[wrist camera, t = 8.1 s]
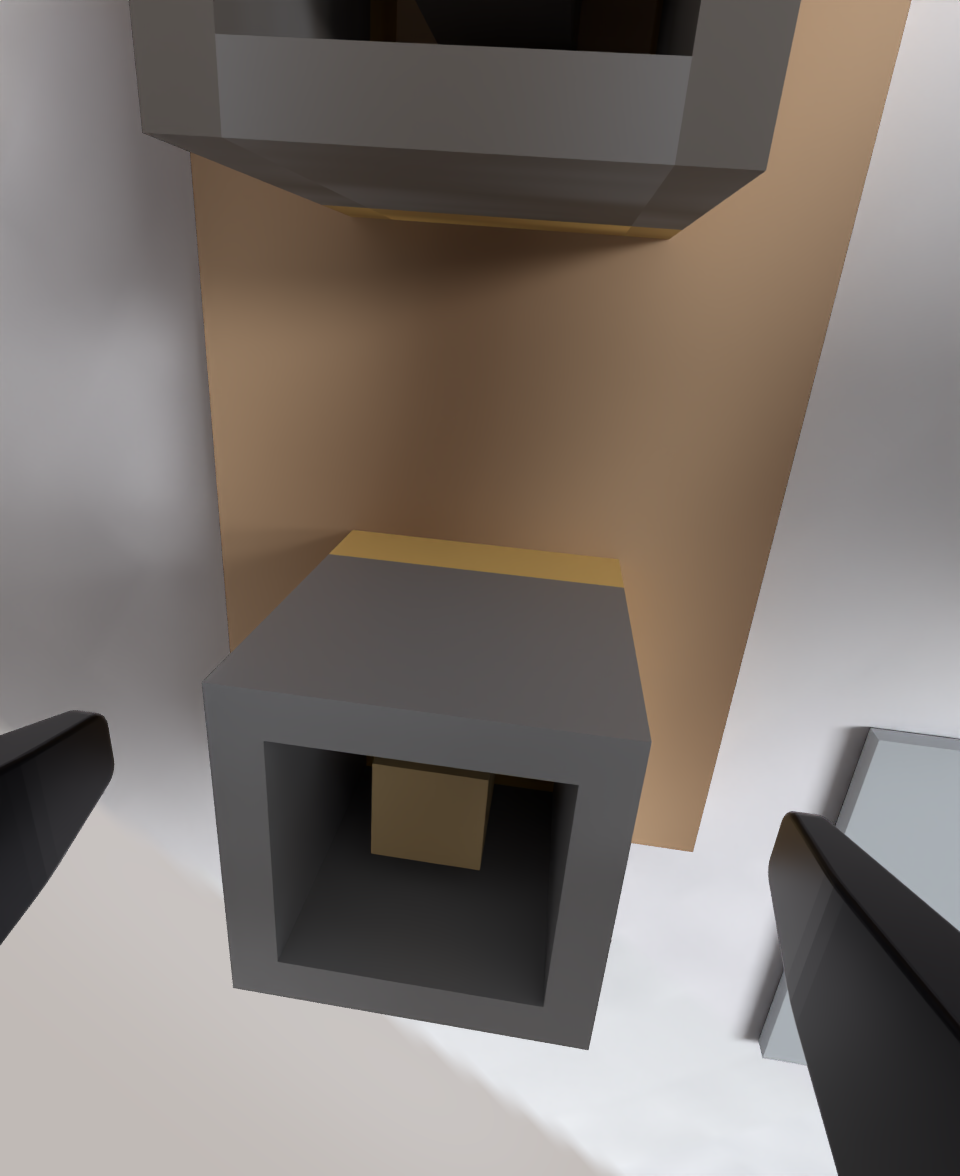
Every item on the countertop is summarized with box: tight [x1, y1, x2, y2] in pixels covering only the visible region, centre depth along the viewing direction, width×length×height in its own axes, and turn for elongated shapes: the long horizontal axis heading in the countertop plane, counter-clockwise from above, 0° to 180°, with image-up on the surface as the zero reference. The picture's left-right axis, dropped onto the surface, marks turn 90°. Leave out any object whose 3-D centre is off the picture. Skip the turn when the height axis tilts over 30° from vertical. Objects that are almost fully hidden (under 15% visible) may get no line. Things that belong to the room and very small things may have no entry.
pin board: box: [129, 0, 911, 870], centre depth 8 cm, size 9×16×6 cm, turn 176°
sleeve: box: [202, 530, 652, 1050], centre depth 10 cm, size 4×4×5 cm
